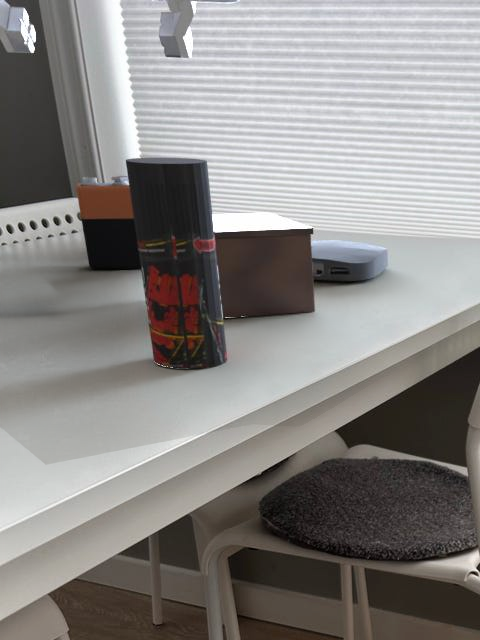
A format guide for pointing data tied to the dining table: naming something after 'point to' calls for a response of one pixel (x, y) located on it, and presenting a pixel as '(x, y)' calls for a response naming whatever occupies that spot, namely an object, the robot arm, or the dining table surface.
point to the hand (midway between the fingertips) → (101, 47)
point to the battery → (108, 224)
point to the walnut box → (263, 265)
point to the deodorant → (178, 260)
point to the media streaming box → (347, 260)
